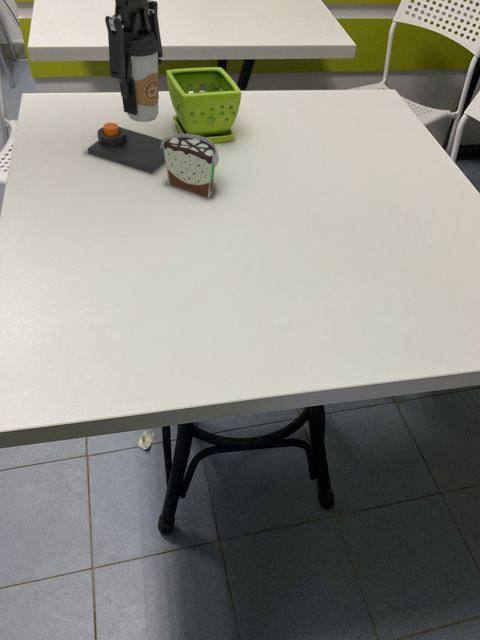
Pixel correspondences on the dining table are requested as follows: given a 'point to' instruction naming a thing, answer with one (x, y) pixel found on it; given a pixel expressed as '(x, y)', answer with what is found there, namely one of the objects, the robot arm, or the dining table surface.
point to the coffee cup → (144, 75)
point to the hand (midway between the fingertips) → (141, 105)
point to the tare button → (111, 129)
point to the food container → (190, 162)
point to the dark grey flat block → (130, 149)
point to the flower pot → (204, 102)
